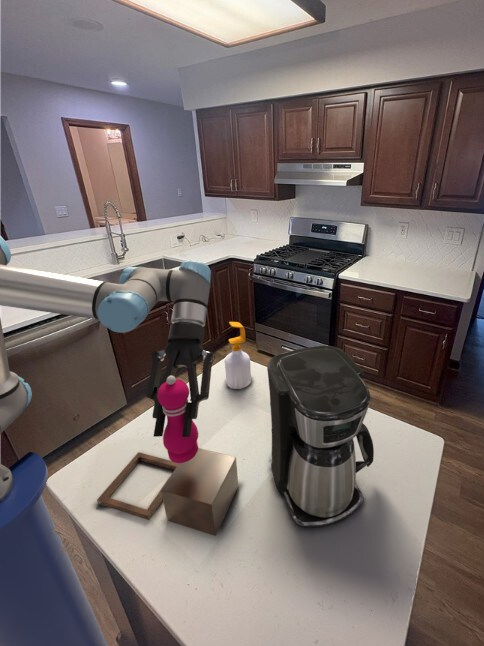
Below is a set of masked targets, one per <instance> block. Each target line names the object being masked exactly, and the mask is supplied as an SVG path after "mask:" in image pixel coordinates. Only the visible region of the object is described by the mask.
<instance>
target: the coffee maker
mask: <svg viewBox="0 0 484 646" xmlns="http://www.w3.org/2000/svg"><path fill="white" fill-rule="evenodd" d="M266 366H267V367H266V369H267V379H268V390H269V401H270V403H269V404H270V420H271V421H270V422H271V464H270V466H271V471H272V475H273V478H274V483H275V484H276V488H277V491H278V492H279V493H280V494H282V495H283V497H284V500H285V501H286V504H287V507H288V510H289V513H290V516H291V519H292V520H293V522H294V523H295V524H296V525H298V526H299V527H303V528H307V527H308V528H317V527H324V526H328V525H331V524H335V523H338V522H340V521H342V520H343V519H345V518H347V517H349V516H350V515H352V514H353V513H354V512H356V510H357V509H358V508H360V507H361V505H362V503H363V501H364V497H363V493H362V491H361V489H360V488H359V486H358V485H357V483H356V477H357V476H356V475H357V473H358V472H360V471H361V470H363V468H365V467H367V468H369V467H370V466H371V465H372V463H373V462H374V458H375V455H374V454H375V451H374V443H373V442H374V441H373V438H372V436H371V432H370V431H369V429H368V427H367V426H366V425H365V423H364V420H365V419H366V416H367V413H368V410H369V407H370V403H371V393H370V390H369V387H368V386H367V384H366V382H365V380H363V378H364V374H365V373H364V371H363V370H362V369H361V367H360V366H359V365H358V364H357V363H356V362H355V360H353V359H352V358H351V357H350V356H349V355H348V353H347V354H346V352H345V351H343V350H342V349H340V348H338V347H336V346H333V345H316V346H315V345H314V346H308V347H303V348H298V349H293V350H290V351H289V350H288V351H285V352H282V353H279V354H277V355H274V356H272V357H271V358H270V359H269V360H268V362H267V365H266ZM355 438H356V440H357V444H358V447H359V451H360V453H361V457H362V460H359V461H356V458H357V457H356V448H355V447H356V446H355V441H354V439H355Z"/></svg>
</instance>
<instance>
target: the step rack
mask: <svg viewBox="0 0 484 646" xmlns="http://www.w3.org/2000/svg"><path fill="white" fill-rule="evenodd" d="M140 462H145V463H148V464H151V465H155V466H158V467H163V468H165V469H170V470H173V471H172V473H171V474H170V476H169V477H168V478H167V480H166V482H165V483H164V484H163V486H162V487H161V489H160V490H159V492H158V493H157V494H156V495H155V498H154V499H153V500H152V502H151V503H150V505H148V507H147V508H143V507H140V506H137V505H133V504H130V503H127V502H124V501H121V500H117V499H114V498H111V496H112V495H113V494H114V493H115V491H116V490H117V489H118V488H119V486H120V485H121V484H122V483H123V481H125V479H126V478H127V477H128V476H129V474H130V473H131V472H132V471H133V470H134V468H136V466H137V465H138V464H139V463H140ZM238 489H239V477H238V466H237V457H236V456H232V455H229V454H225V453H220V452H216V451H212V450H209V449H203V448H201V447H198V451H197V454H196V455H195V456H194V457H193V458H192V459H191V460H189V461H187V462H184V463H174V462H172V461H171V460H170V459H165V458H161V457H159V456H158V457H157V456H154V455H150V454H146V453H144V452H143V453H142V452H137V453H136V455H135V456H133V458H132V459H131V460H130V461H129V462H128V463H127V465H125V467H124V468H123V469H122V470H121V472H119V474H118V475H117V476H116V477H115V478H114V480H113V481H111V483H110V484H109V485H108V486H107V488H106V489H105V490H104V491H103V492H102V493H101V495H99V497H98V498H97V499H96V501H97V504H98V505H100V506H104V507H107V508H110V509H112V510H115V511H119V512H122V513H125V514H129V515H131V516H134V517H138V518H140V519H144V520H148V521H150V520H151V518H152V517H153V515H154V514H155V512H156V511H157V509H158V508H159V506H160V505H161V503H162V502H163V507H164V511H165V516H166V520H167V522H170V523H174V524H177V525H180V526H183V527H186V528H189V529H192V530H195V531H198V532H201V533H205V534H207V535H211V536H214V537H216V536H217V534H218V532H219V530H220V528H221V526H222V524H223V522H224V519H225V517H226V514H227V512H228V510H229V508H230V506H231V504H232V502H233V499H234V497H235V495H236V493H237V490H238Z"/></svg>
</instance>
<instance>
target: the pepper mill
mask: <svg viewBox="0 0 484 646" xmlns="http://www.w3.org/2000/svg"><path fill="white" fill-rule="evenodd" d="M159 386H160V385H159ZM158 388H159V387H158ZM157 396H158V401H159V403H160V404H161V405H162V408H163V413H164V414H165V415H166V419H167V421H166V426H165V427H164V430H163V436H162V444H163V447H164V449H165V450H166V451H167V455H168V458H169V459H168V460H170V461H172V462H174V463H184V462H187V461H189V460H191V459H192V458H193V457H194V456H195V455H196V454H197V451H198V448H199V443H198V440H199V430H198V426H197V425H196V423H195V422H194V420H192V426H191V434H190V437H182V434H183V427H184V419H185V411H186V404H187V402H189V397H190V388H189V385H188V384H187V383H186V382H185V381H183V380H182V379H178V378H176V377H175V375H174V376H169V377H168V378H167V380H166V382H165V383H163V384H162V385H161V386H160V388H159V390H158V395H157Z"/></svg>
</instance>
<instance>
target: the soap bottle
mask: <svg viewBox="0 0 484 646" xmlns="http://www.w3.org/2000/svg"><path fill="white" fill-rule="evenodd" d="M228 324H229V325H230V327H232V328H236V329H239V333H240V334H239V336H235V337H232V338H229V339H228V342H229V343H230V345H231V346H232V347H231V352H229V353H228V354H227V355H226V356H225V359H224V368H225V382H226V385H227V386H228V387H229V388H231V389H233V390H234V389H235V390H241V389H244V388H246V387H248V386H249V385H251V383H252V371H251V357H250V356H249V354H248V353H247V352H245V351H243V350H242V346H241V345H240V344H242V343H243V344H244V343H245V342H246V338H247V337H246V328H245V327H244V326H243V325H242V323H240V322H238V321H228Z"/></svg>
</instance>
